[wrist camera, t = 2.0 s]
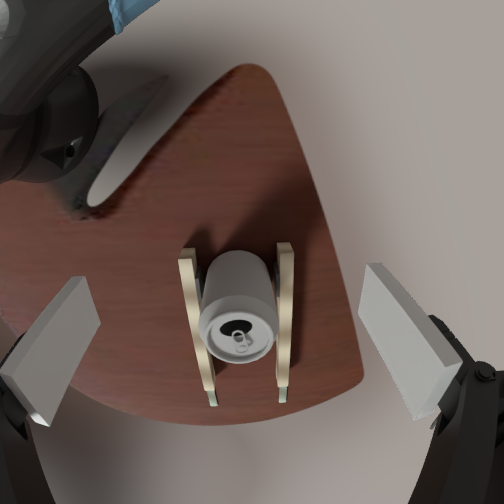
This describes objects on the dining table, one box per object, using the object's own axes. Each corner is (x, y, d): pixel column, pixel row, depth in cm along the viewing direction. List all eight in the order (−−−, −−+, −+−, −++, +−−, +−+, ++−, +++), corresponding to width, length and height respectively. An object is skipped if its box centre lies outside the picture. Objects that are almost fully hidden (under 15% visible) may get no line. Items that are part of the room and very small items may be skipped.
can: (261, 240, 34) (273, 297, 23) (273, 294, 37) (287, 361, 26) (199, 255, 34) (183, 316, 23) (216, 306, 37) (210, 375, 26)
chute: (179, 248, 34) (174, 259, 31) (292, 242, 34) (297, 252, 31) (210, 404, 46) (210, 418, 43) (285, 400, 46) (287, 413, 44)
